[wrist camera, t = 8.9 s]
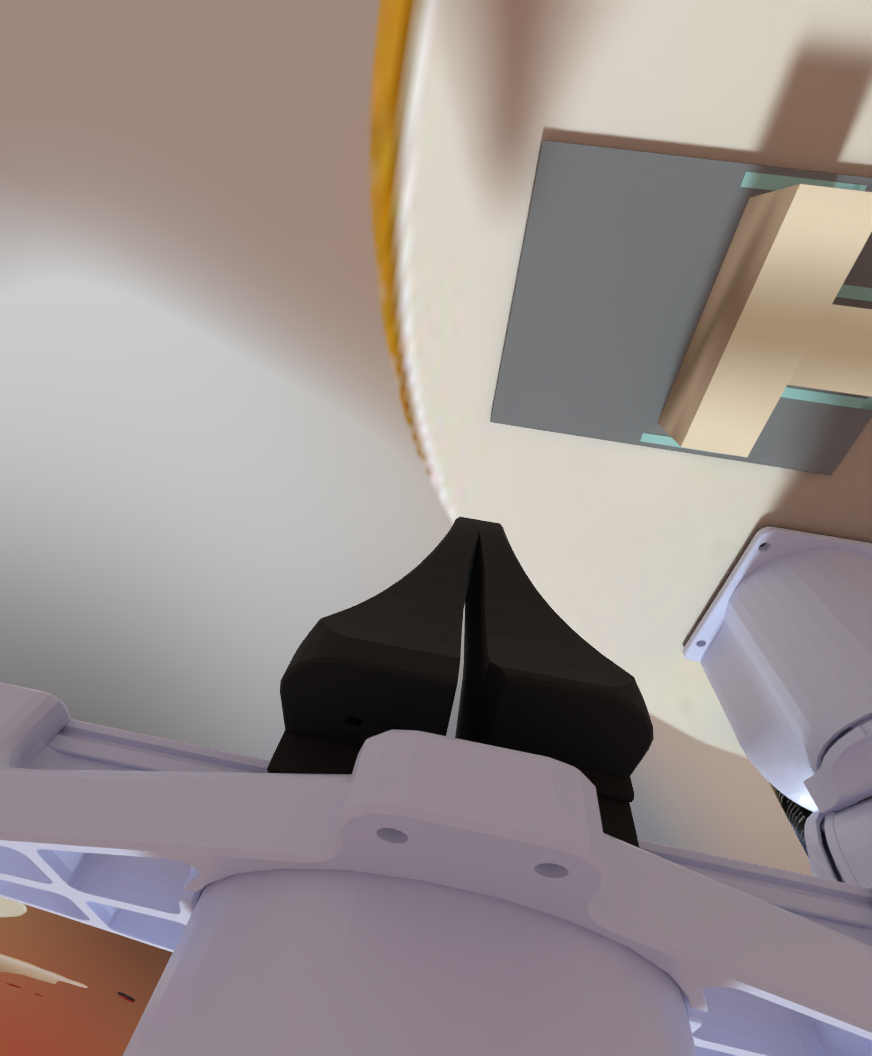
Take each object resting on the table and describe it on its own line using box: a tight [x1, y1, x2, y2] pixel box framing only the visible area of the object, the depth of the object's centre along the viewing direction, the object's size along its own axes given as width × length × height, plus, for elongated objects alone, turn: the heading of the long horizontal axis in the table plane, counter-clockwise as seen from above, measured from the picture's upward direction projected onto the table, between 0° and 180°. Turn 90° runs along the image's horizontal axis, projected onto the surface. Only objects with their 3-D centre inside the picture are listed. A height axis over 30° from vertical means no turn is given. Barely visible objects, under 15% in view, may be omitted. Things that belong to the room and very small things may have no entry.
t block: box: [658, 184, 872, 457], centre depth 15 cm, size 8×7×3 cm
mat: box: [490, 140, 872, 475], centre depth 17 cm, size 10×16×1 cm, turn 84°
